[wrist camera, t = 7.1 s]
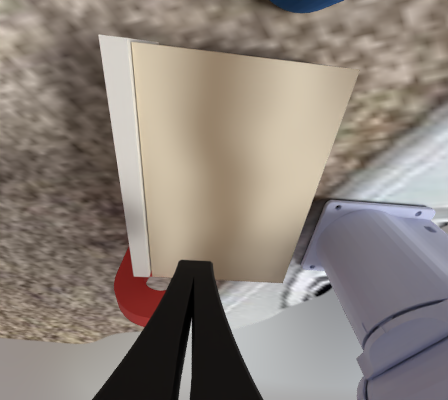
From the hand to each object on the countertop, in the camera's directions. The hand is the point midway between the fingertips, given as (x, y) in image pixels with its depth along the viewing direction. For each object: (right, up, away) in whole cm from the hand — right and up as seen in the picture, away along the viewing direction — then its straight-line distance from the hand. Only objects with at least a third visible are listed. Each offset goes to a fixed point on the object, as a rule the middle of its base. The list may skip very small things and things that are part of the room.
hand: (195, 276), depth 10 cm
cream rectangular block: (+1, +6, +7) cm, 10 cm away
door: (-4, +7, +6) cm, 10 cm away
